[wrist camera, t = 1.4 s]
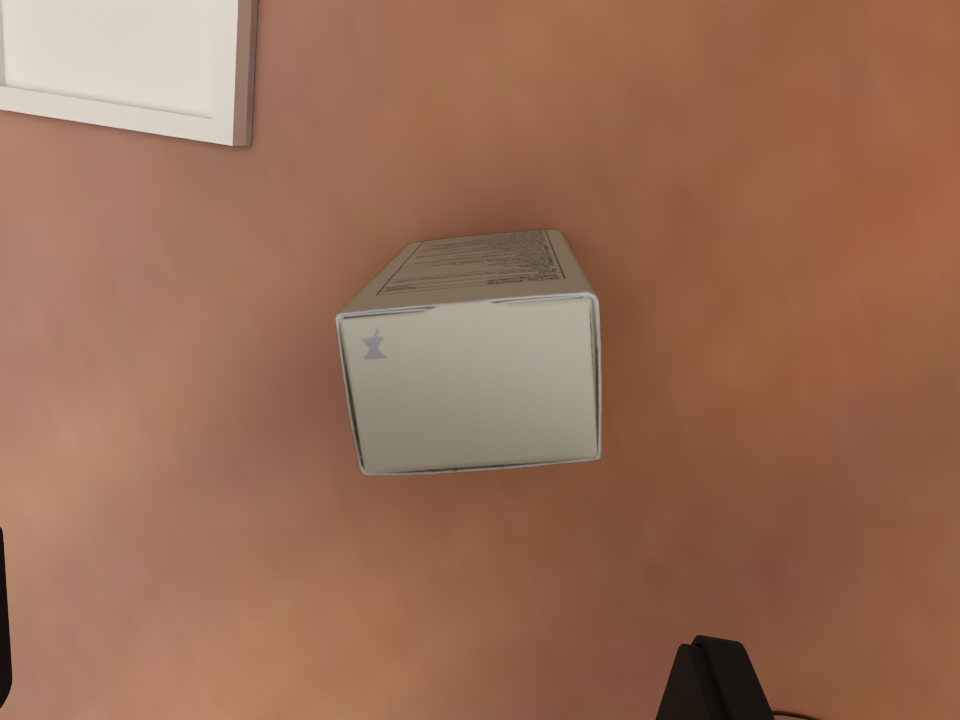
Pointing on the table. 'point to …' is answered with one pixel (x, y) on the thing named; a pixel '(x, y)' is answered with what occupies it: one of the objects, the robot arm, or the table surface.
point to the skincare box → (474, 358)
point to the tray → (133, 64)
